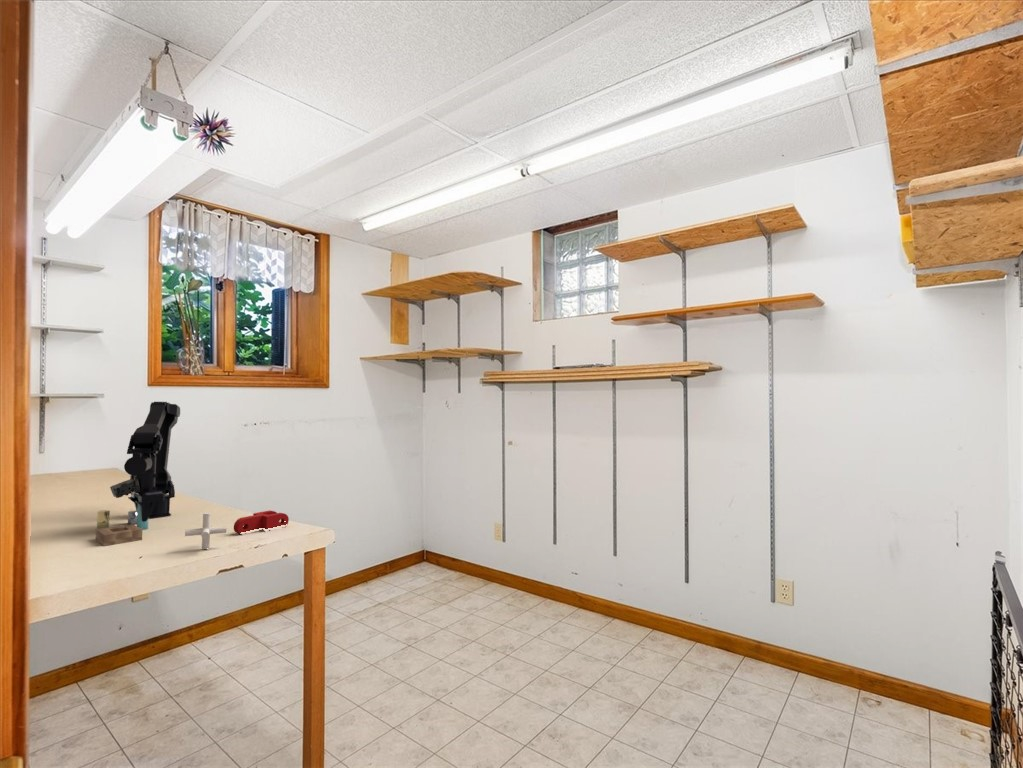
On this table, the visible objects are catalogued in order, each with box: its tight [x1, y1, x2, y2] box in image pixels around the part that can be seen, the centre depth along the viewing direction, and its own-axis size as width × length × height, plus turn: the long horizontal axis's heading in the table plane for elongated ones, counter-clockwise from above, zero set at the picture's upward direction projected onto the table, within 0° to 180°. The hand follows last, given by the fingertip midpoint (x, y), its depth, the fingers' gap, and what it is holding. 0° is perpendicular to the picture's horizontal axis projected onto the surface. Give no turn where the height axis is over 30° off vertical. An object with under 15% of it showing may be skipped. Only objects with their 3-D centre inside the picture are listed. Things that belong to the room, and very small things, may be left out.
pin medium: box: [96, 509, 111, 529], centre depth 164 cm, size 3×3×6 cm
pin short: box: [127, 509, 137, 526], centre depth 174 cm, size 3×3×4 cm
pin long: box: [136, 504, 150, 531], centre depth 168 cm, size 3×3×9 cm
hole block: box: [95, 524, 143, 547], centre depth 155 cm, size 9×9×3 cm
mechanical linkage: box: [233, 510, 290, 534], centre depth 170 cm, size 16×7×5 cm, turn 149°
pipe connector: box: [184, 511, 228, 550], centre depth 149 cm, size 10×10×10 cm
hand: (142, 520), depth 168 cm, fingers closed on pin long, 3 cm apart
